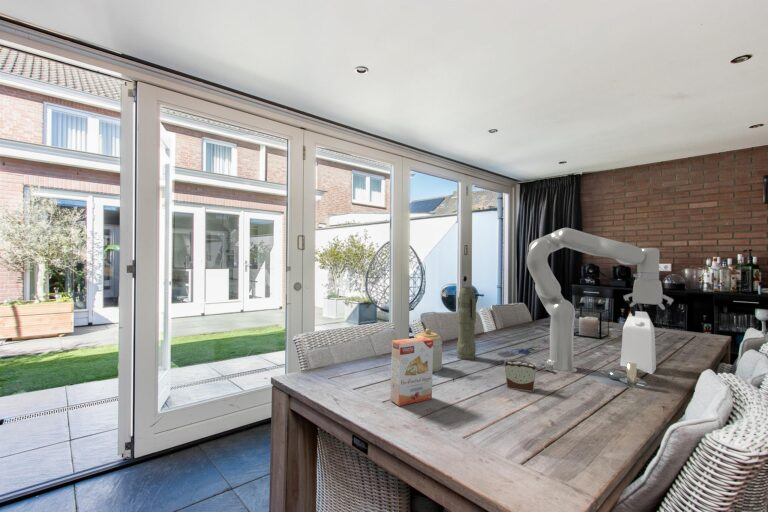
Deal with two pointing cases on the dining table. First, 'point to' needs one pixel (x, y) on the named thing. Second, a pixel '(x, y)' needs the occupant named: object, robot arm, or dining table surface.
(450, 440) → the dining table surface
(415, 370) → the cracker box
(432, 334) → the jar
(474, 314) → the thermos
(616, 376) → the lever
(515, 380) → the food container
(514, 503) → the dining table surface
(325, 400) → the dining table surface
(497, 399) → the dining table surface
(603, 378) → the dial board
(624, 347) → the milk
